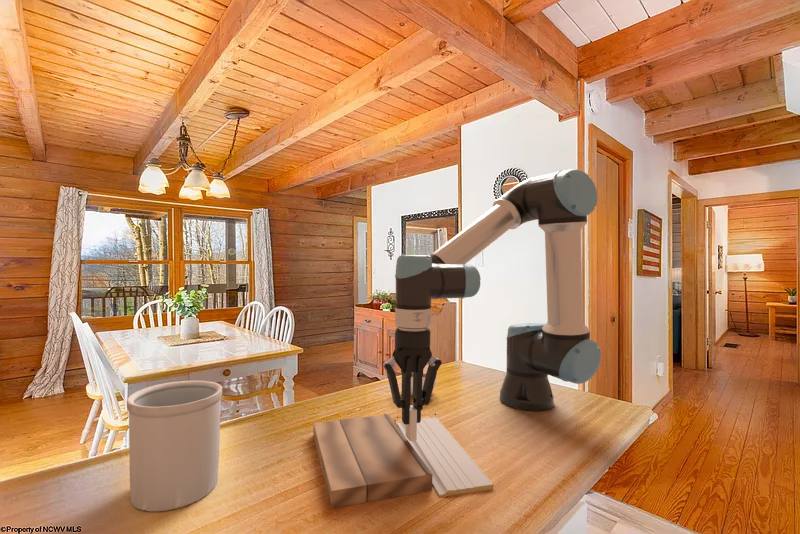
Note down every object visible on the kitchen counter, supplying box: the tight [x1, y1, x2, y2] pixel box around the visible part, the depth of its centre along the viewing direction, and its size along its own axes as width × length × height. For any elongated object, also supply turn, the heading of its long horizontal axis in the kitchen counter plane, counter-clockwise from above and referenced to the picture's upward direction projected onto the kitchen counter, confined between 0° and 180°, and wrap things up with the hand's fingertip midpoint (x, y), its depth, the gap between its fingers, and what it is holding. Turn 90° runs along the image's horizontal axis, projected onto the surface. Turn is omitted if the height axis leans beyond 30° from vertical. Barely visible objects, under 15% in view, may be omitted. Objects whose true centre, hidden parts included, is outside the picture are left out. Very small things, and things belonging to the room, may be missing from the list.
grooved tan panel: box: [313, 413, 433, 509], centre depth 83 cm, size 18×28×3 cm, turn 18°
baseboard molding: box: [393, 413, 495, 498], centre depth 86 cm, size 31×3×12 cm
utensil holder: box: [126, 380, 223, 512], centre depth 71 cm, size 15×15×18 cm
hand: (411, 437), depth 85 cm, fingers closed
